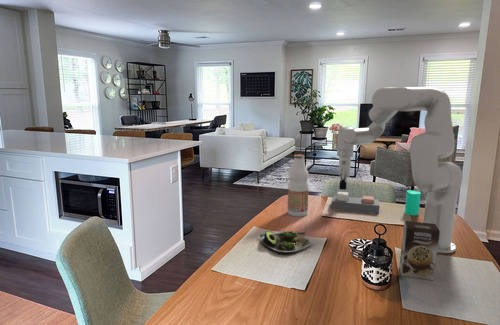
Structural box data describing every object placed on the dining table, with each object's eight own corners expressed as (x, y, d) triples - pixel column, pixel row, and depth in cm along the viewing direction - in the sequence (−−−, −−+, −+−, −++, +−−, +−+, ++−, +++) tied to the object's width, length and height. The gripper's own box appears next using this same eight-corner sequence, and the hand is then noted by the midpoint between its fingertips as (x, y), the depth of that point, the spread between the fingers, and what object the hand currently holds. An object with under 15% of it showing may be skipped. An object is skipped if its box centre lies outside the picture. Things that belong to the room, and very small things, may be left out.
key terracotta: (373, 203, 165) (373, 196, 164) (373, 206, 160) (373, 199, 159) (362, 202, 166) (362, 195, 166) (362, 205, 162) (362, 198, 161)
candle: (401, 212, 160) (404, 187, 157) (410, 210, 162) (413, 186, 160) (412, 216, 154) (415, 191, 152) (421, 214, 157) (424, 189, 155)
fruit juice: (291, 217, 152) (292, 157, 147) (284, 211, 161) (285, 153, 156) (310, 216, 154) (312, 156, 149) (303, 209, 163) (304, 153, 158)
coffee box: (401, 276, 103) (406, 227, 100) (399, 266, 109) (403, 219, 106) (434, 281, 100) (440, 230, 97) (430, 270, 106) (435, 222, 103)
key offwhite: (347, 199, 168) (348, 192, 168) (347, 202, 164) (347, 195, 163) (337, 198, 170) (338, 191, 169) (337, 201, 165) (337, 194, 164)
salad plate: (291, 230, 139) (291, 219, 138) (322, 245, 125) (323, 234, 124) (253, 241, 129) (253, 229, 128) (281, 259, 114) (282, 247, 113)
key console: (377, 207, 167) (378, 199, 166) (378, 213, 158) (379, 205, 157) (332, 202, 174) (333, 195, 173) (331, 208, 164) (331, 201, 163)
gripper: (352, 156, 154) (350, 194, 158) (353, 150, 168) (351, 185, 172) (336, 155, 156) (333, 192, 160) (338, 149, 170) (336, 184, 174)
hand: (342, 189), depth 166 cm, fingers closed
